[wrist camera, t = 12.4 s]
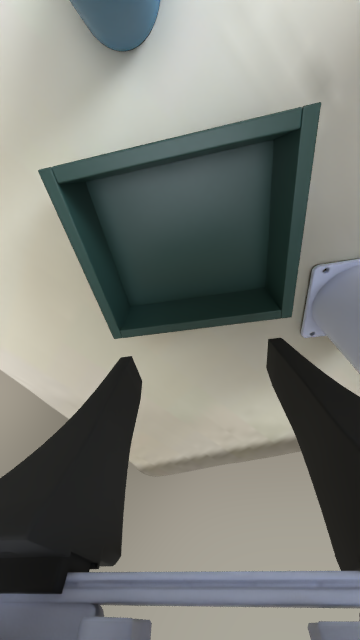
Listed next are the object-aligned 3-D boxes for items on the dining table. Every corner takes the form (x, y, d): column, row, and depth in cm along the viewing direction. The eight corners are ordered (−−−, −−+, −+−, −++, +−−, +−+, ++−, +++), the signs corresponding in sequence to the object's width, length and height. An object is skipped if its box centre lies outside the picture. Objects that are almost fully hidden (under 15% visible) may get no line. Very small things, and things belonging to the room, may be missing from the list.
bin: (284, 122, 14) (321, 101, 10) (272, 290, 20) (291, 317, 16) (74, 171, 15) (37, 170, 12) (126, 311, 22) (113, 339, 18)
